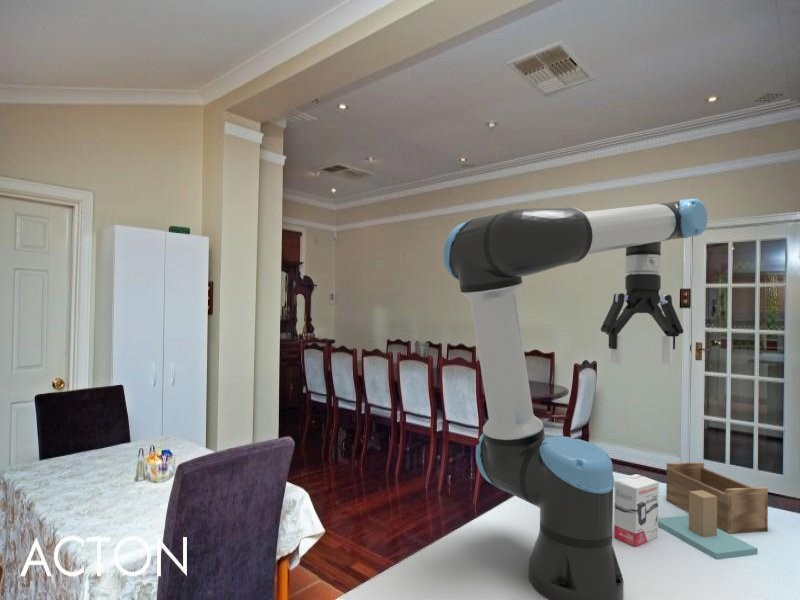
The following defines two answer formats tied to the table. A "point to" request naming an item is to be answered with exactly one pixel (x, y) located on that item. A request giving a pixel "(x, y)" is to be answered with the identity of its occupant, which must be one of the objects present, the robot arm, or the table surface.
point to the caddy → (719, 497)
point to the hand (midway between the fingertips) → (641, 363)
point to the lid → (705, 529)
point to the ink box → (636, 509)
